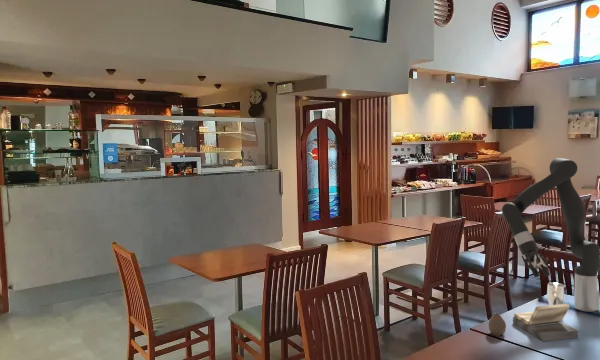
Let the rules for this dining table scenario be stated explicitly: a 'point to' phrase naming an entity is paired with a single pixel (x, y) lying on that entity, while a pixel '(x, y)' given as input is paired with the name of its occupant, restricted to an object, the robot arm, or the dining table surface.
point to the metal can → (555, 293)
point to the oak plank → (549, 313)
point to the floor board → (544, 328)
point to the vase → (497, 325)
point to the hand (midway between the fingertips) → (542, 276)
